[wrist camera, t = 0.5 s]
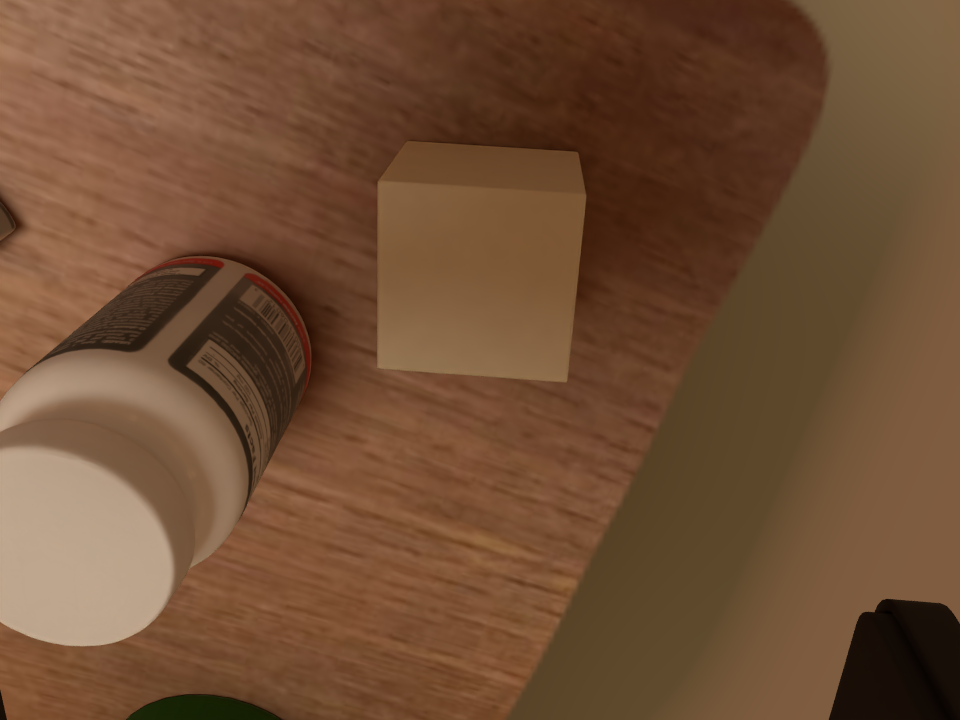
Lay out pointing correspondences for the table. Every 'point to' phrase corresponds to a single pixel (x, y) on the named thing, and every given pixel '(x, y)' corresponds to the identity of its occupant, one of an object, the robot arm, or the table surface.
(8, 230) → the hard drive
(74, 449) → the pill bottle
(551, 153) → the cream block
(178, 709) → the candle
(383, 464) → the table surface
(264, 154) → the table surface
